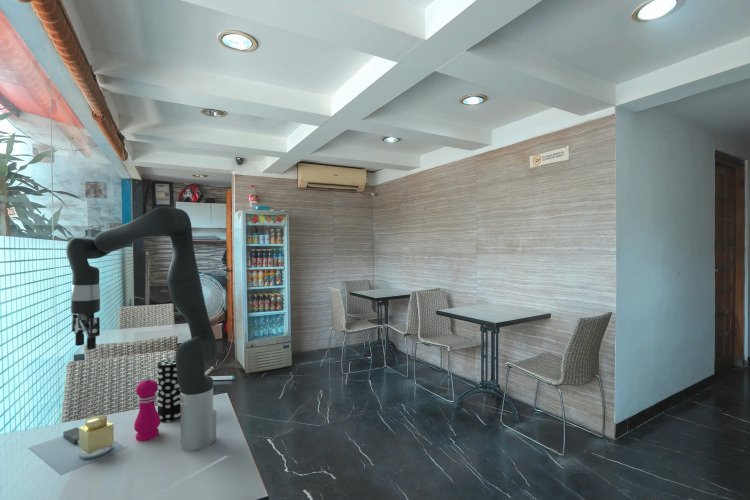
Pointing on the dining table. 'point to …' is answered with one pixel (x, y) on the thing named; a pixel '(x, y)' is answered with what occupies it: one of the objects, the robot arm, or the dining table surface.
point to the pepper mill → (147, 411)
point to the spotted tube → (168, 391)
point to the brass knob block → (96, 434)
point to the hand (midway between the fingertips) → (85, 347)
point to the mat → (65, 454)
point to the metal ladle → (73, 437)
